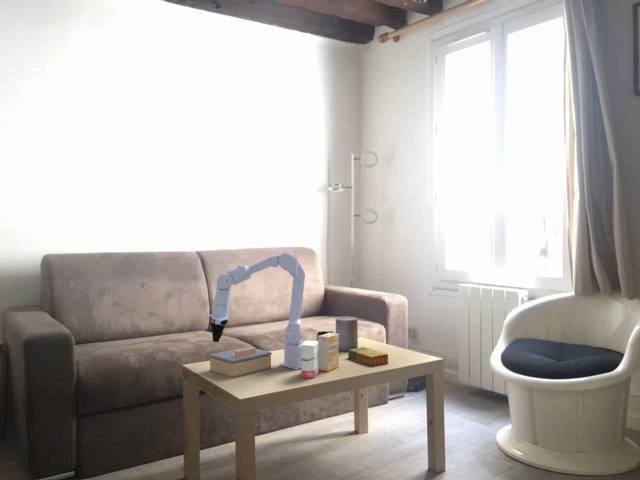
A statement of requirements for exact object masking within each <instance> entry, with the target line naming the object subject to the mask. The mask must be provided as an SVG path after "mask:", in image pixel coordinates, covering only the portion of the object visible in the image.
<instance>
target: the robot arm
mask: <svg viewBox="0 0 640 480" xmlns="http://www.w3.org/2000/svg"><path fill="white" fill-rule="evenodd" d="M279 266H280V267H279ZM271 267H272V268H281V269H283V270H284V271H286V272H287V273H289V275H290V276H291V277H292V278H293V279H292V286H291V297H290V298H291V299H290V307H289V308H290V309H289V317H288V324H287V326H286V328H285V330H284V332H285V333H284V334H285V340H284V341H283V343H284V344H283V346H284V347H283V348H284V349H283V353H284V355H283V361H284V362H282V363H279V366H281V367H285V368H289V369H292V370H293V369H294V370H299V369H301V344H303V343H304V341H303V340H302V336H303V334H302V328H301V319H302V312H303V311H302V309H303V298H304V292H305V291H304V289H305V282H306V281H305V278H306V273H305V270H304V268H303V267H302V265H301V263H300V261H299V260H298V258H297V257H296V256H295V255H294V254H293V253H291V252H290V251H284V252H283V253H281V254H280V253H278V254H275V255H272V256H271V255H270V256H269V257H267V258H264V259H262V260H259V261H258V262H256V263H253V264H252V265H249V266H248V265H245V264H244V265H243V264H240V265H238V266H237V268H234V269H232V270H226V273H222V274H220V275H219V276H218V277H217V279H216V285H217V286H216V290H215V295H214V303H213V311H212V314H209V318H212V319H213V322H212V321H211V322H210V327H211V331H212V332H211V333H212V342H215V343H219V342H220V340H221V338H222V336H223V333H224V329H225V327H226V324H227V323H228V321H229V320H228V319H229V316H228V315H229V309H230V302H231V301H230V300H231V295H232V294H231V290H232V288H231V287H232V286H236V285H238V284H241V283H243V282H246V281H248V280H250V279H251V277H252V275H253V274H255V273H258V272H261V271H263V270H265V269H267V268H271Z"/></svg>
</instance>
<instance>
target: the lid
mask: <svg viewBox="0 0 640 480" xmlns="http://www.w3.org/2000/svg"><path fill="white" fill-rule="evenodd" d="M272 354H273V353H272V352H271V351H267V350H263V349H259V348H257V347H250V346H245V347H239V348H236V349H229V350H225V351H221V352H214V353H210V354H208V356H209V357H212V358H216V359H219V360H223V361H226V362H230V363H236V362H241V361H245V360H250V359H254V358H259V357H263V356H268V355H271V356H272Z"/></svg>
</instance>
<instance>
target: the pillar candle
mask: <svg viewBox="0 0 640 480" xmlns="http://www.w3.org/2000/svg"><path fill="white" fill-rule="evenodd" d="M358 328H359V327H358V317H356V316H348V315H346V316H345V315H344V316H337V317H335V333H336V334H339V351H342V352H348V350H349V349H355V348H359V342H358V340H359V337H358V335H359V333H358Z"/></svg>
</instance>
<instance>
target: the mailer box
mask: <svg viewBox="0 0 640 480" xmlns="http://www.w3.org/2000/svg"><path fill="white" fill-rule="evenodd" d="M269 369H272V355H268V356H263V357H259V358H254V359H250V360H245V361H241V362H236V363H230V362H226V361H223V360H219V359H216V358H212V357H210V358H209V371H210V372H213V373H217V374H220V375H222V376H225V377H228V378H233V379H234V378H237V377H242V376H245V375H251V374H253V373H257V372H262V371H267V370H269Z"/></svg>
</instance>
